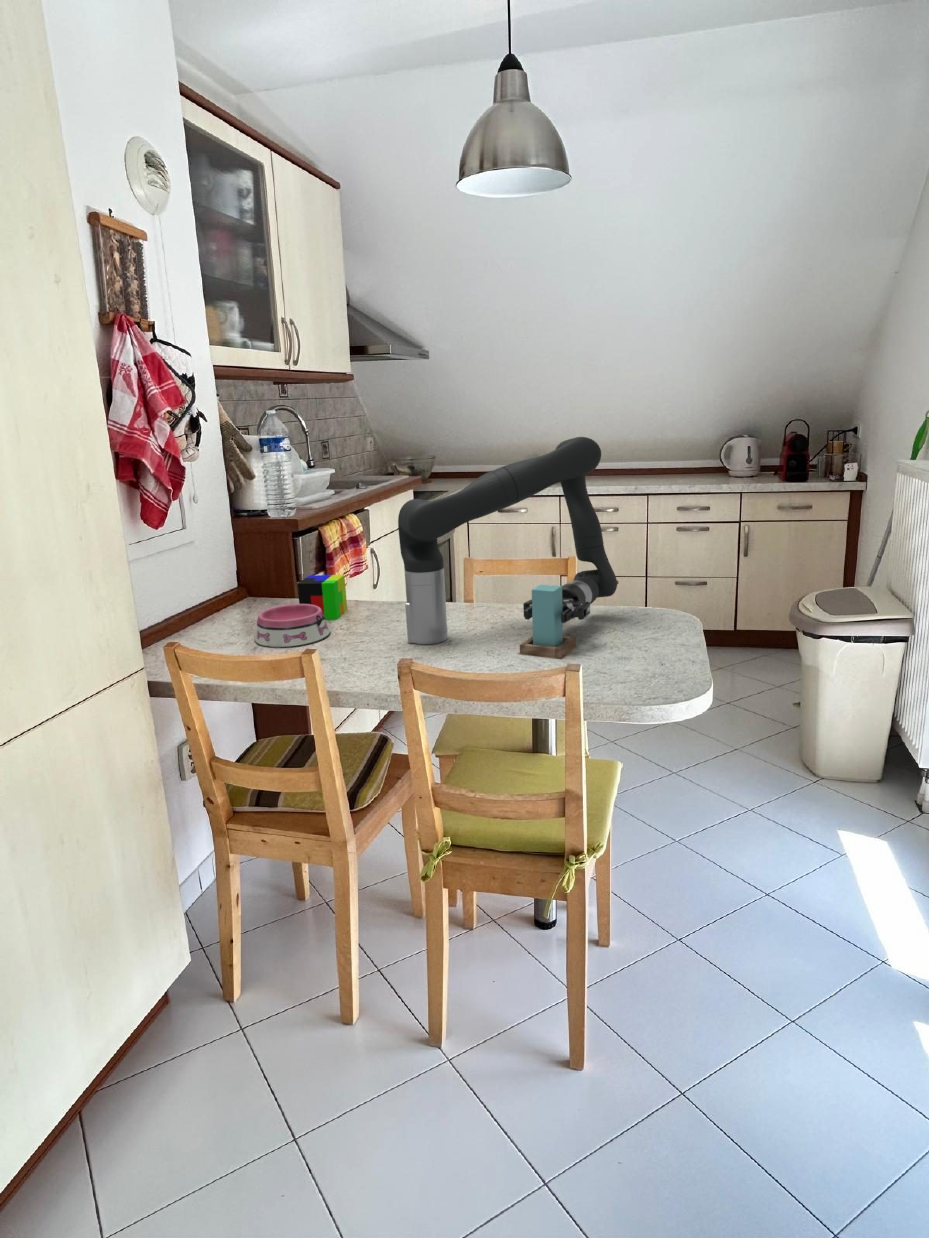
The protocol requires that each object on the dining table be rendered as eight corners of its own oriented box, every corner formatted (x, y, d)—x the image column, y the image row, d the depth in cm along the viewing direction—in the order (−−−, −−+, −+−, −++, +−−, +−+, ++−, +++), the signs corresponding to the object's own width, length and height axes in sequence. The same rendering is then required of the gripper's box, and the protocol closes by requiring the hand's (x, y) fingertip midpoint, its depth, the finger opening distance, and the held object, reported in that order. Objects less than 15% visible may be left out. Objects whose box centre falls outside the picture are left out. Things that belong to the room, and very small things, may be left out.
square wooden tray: (517, 658, 180) (516, 645, 180) (536, 645, 189) (535, 632, 188) (561, 663, 176) (561, 650, 175) (578, 649, 184) (578, 636, 184)
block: (533, 651, 181) (531, 589, 178) (542, 645, 185) (540, 584, 182) (554, 654, 179) (553, 591, 175) (563, 647, 183) (562, 586, 179)
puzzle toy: (312, 610, 230) (309, 575, 228) (347, 610, 229) (344, 574, 226) (300, 620, 221) (297, 583, 218) (337, 619, 219) (333, 583, 217)
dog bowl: (314, 649, 195) (312, 621, 193) (241, 648, 199) (238, 621, 197) (340, 627, 212) (338, 602, 211) (273, 627, 216) (270, 601, 214)
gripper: (542, 581, 195) (513, 597, 181) (600, 585, 188) (575, 602, 174) (543, 612, 197) (514, 630, 183) (600, 617, 190) (575, 636, 176)
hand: (544, 616), depth 179 cm, fingers open, 8 cm apart
